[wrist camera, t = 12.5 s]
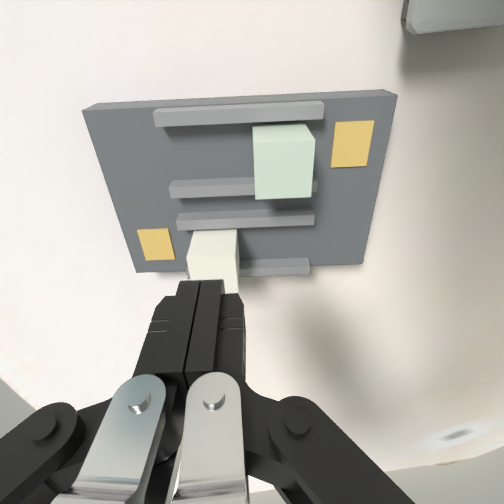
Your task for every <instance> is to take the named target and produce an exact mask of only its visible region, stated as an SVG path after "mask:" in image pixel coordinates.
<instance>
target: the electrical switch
mask: <svg viewBox="0 0 504 504" xmlns="http://www.w3.org/2000/svg"><path fill="white" fill-rule="evenodd" d="M401 19H404V20H406V30H407V31H409V32H410V33H411V34H426V33H436V32H445V31H455V30H464V29H473V28H482V27H491V26H500V25H504V0H404V3H403V10H402V16H401Z"/></svg>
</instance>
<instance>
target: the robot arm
mask: <svg viewBox="0 0 504 504" xmlns="http://www.w3.org/2000/svg"><path fill="white" fill-rule="evenodd" d="M245 379H246V328H245V316H244V304H243V302H242V300H241V298H240V297H239V295H238V293H235V294H225V287H224V280H223V279H214V280H191V281H180V282H179V285H178V289H177V292H176V296H165V297H164V298H163V299H162V301H161V302H160V303H159V304H158V305H157V306H156V308H155V311H154V314H153V317H152V322H151V323H150V326H149V329H148V333H147V335H146V338H145V341H144V344H143V347H142V350H141V353H140V356H139V359H138V362H137V365H136V368H135V371H134V374H133V376H132V378H131V379H129V380H128V381H126V382H125V383H124V384H123V385H121V387H120V388H119V389H118V390H117V391H116V393H115V394H114V396H113V397H112V398H110V399H109V400H106V401H104V402H101V403H98V404H95V405H92V406H90V407H87V408H84V409H81V410H78V411H76V410H75V409H74V407H72V406H71V405H70V404H68V403H64V402H58V403H53V404H49V405H47V406H44V407H42V408H41V409H39V410H37V411H36V412H35V413H33V414H32V415H30V416H29V417H28V418H27V419H25V420H24V421H23V422H21V423H20V424H19V425H18V426H16V427H15V428H14V429H13V430H11V431H10V432H9V433H7V434H6V435H5V436H3V437H2V438H1V439H0V504H250V497H249V480H248V475H250V476H253V477H255V478H257V479H260V480H262V481H265V482H267V483H270V484H272V485H274V487H275V488H276V490H277V491H278V493H279V494H280V495H281V497H282V498H283V500H284V501H285V502H286V504H415V503H414V502H413V501H412V500H411V499H410V498H409V497H408V496H407V495H406V494H405V493H404V492H403V491H402V490H401V489H400V488H399V487H398V486H397V485H396V484H395V483H394V482H393V481H392V480H391V479H390V478H389V477H388V476H387V475H386V474H385V473H384V472H383V471H382V470H381V469H380V468H379V467H378V466H377V465H376V464H375V463H374V462H373V461H372V460H371V459H370V458H369V457H368V456H367V455H366V454H365V453H364V452H363V451H362V450H361V449H360V448H359V447H358V446H357V445H356V444H355V443H354V442H353V441H352V440H351V439H350V438H349V437H348V436H347V435H346V434H345V433H344V432H343V431H342V430H341V429H340V428H339V427H338V426H337V425H336V424H335V423H334V422H333V421H332V420H331V419H330V418H329V417H328V416H327V415H326V414H325V413H324V412H323V411H322V410H321V409H320V408H319V407H318V406H317V405H316V404H315V403H314V402H312V401H311V400H309V399H307V398H304V397H300V396H290V397H286V398H284V399H282V400H280V401H276V400H273V399H270V398H266V397H263V396H261V395H259V394H257V393H255V392H254V391H253V390H252V389H251V388H250V387H249V386H248V385H247V383H246V382H245ZM183 431H184V432H183ZM180 460H181V464H180ZM179 464H180V475H179V484H178V489H177V492H176V494H175V495H174V497H173V499H172V495H173V491H174V487H175V482H176V478H177V473H178V469H179ZM171 500H172V503H171Z"/></svg>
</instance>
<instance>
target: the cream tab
mask: <svg viewBox="0 0 504 504" xmlns="http://www.w3.org/2000/svg"><path fill="white" fill-rule="evenodd" d="M186 259H187V264H188V269H189V274H190V279H191V280H214V279H223V280H224V287H225V293H238V289H239V262H240V258H239V245H238V233H237V228H228V229H204V230H194V232H193V236H192V239H191V243H190V247H189V250H188V254H187V258H186Z"/></svg>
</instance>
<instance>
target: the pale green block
mask: <svg viewBox="0 0 504 504" xmlns="http://www.w3.org/2000/svg"><path fill="white" fill-rule="evenodd" d="M252 130H253V155H254V180H255V200H256V199H279V198H302V197H311V191H312V178H313V165H314V152H315V139H314V137H313V136H312V134H311V132H310V131H309V129H308V128H307V126H306V125H305V123H304V122H290V123H268V124H252Z"/></svg>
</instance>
